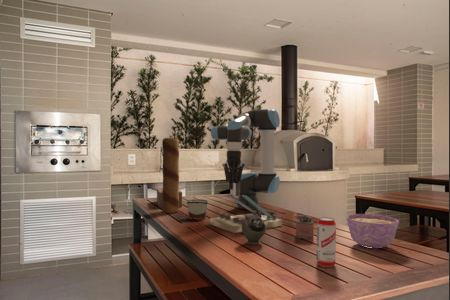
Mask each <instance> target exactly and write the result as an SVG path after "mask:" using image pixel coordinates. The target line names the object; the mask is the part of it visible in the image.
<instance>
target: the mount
mask: <svg viewBox="0 0 450 300" xmlns="http://www.w3.org/2000/svg"><path fill="white" fill-rule="evenodd" d="M253 210H254V211H256V212H257V213H258V214H260V215H261V219H262V220H263V221H264V223H265V226H266V229H272V228H279V227H283V219H279V218H277V215H276V214H272V217H273V219H271V218H269V217H267V216H266V215H265V214H264V215H263V214H262V212H261V211H260V210H258V211H257V209H253ZM268 213H269V212H268ZM269 214H270V215H271V213H269ZM245 215H246V216H258V215H256V214H254V213H252V212H251V213H246V214H237V215H231V214H226V213H220V214H219V217H210V219H209V225H211V226H215V227H217V228H219V229H222V230H225V231H228V232H231V233H233V234H236V233H237V234H238V233H243V232H242V222H243V220H244V219H245ZM278 226H279V227H278Z"/></svg>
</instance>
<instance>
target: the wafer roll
mask: <svg viewBox="0 0 450 300" xmlns="http://www.w3.org/2000/svg"><path fill="white" fill-rule="evenodd" d="M179 146H180V145H179V139H178V138H173V137H171V138H170V137H164V138H163V139H162V188H163V208H162V211H163V213H165V214H174V213H177V212H179V211H180V207H179V190H180V189H179V188H180V185H179V184H180V169H179V168H180V167H179V165H180V164H179V162H180V161H179V160H180V159H179V158H180V149H179V148H180V147H179Z"/></svg>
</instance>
